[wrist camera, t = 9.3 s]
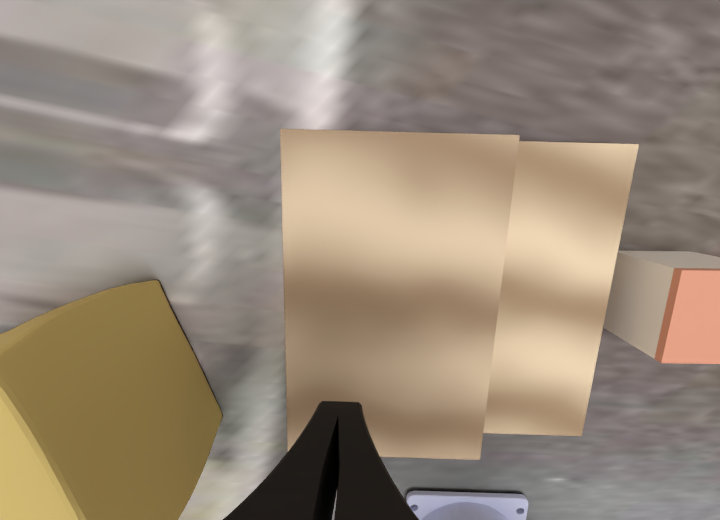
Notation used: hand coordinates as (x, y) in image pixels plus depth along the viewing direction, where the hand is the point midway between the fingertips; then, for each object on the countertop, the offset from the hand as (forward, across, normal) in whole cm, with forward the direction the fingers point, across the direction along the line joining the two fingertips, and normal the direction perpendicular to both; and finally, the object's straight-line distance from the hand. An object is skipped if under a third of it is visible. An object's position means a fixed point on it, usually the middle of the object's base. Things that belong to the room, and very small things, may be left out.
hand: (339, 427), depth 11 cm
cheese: (+10, +14, +4) cm, 17 cm away
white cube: (+5, -17, -2) cm, 18 cm away
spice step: (+9, -5, -2) cm, 11 cm away
